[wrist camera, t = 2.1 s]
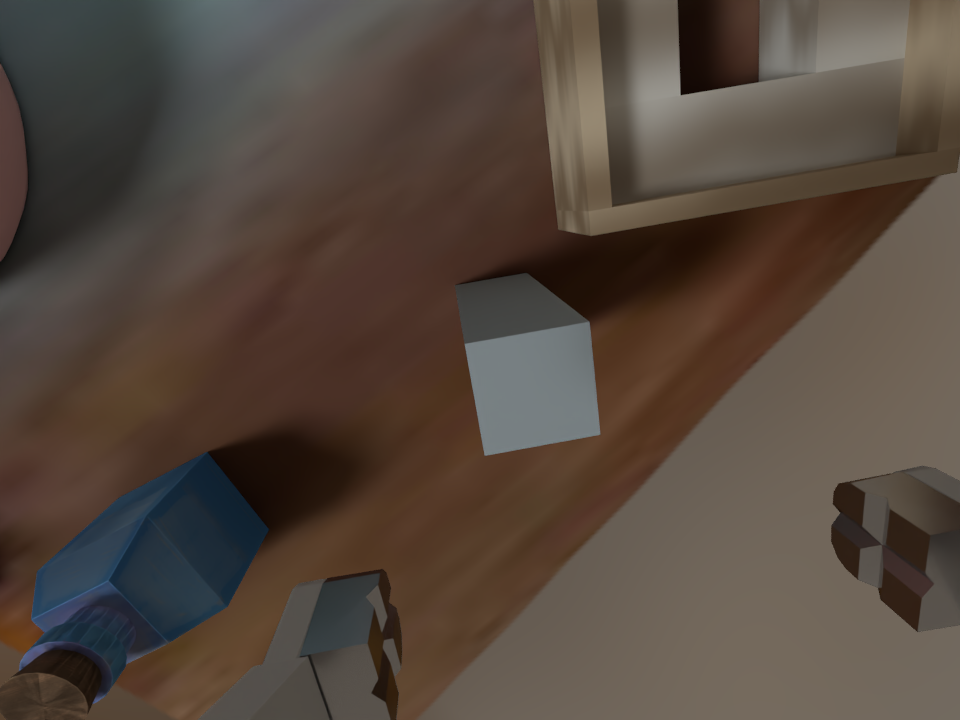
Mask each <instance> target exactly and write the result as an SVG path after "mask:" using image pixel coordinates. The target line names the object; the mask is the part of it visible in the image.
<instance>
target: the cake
mask: <svg viewBox="0 0 960 720" xmlns="http://www.w3.org/2000/svg"><path fill="white" fill-rule="evenodd" d="M27 191H28V165H27V155H26V145H25V136H24V128H23V123H22V118H21V114H20V109H19V105H18V102H17V100H16V97H15V94H14V92H13V89H12V86H11V84H10V82H9V80H8V77H7V75H6V73H5V71H4V69H3V67H2V65H1V63H0V262H1V260H2V259H3V258H4V257H5V255H6V253H7V251H8V249H9V247H10V245H11V243H12V241H13V238H14V235H15V233H16V230H17V227H18V224H19V221H20V219H21V216H22V213H23V210H24V206H25V201H26V196H27Z"/></svg>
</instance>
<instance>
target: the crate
mask: <svg viewBox="0 0 960 720" xmlns="http://www.w3.org/2000/svg"><path fill="white" fill-rule="evenodd" d="M533 1H534V10H535V20H536V29H537V38H538V47H539V56H540V65H541V75H542V84H543V93H544V102H545V111H546V120H547V130H548V139H549V148H550V157H551V166H552V175H553V185H554V194H555V203H556V212H557V221H558V230H563V231H568V232H574V233H579V234H584V235H589V236H593V235H599V234H605V233H611V232H616V231H622V230H628V229H634V228H639V227H645V226H651V225H657V224H662V223H668V222H674V221H680V220H685V219H691V218H697V217H703V216H708V215H714V214H720V213H726V212H731V211H737V210H743V209H749V208H754V207H760V206H766V205H772V204H777V203H783V202H789V201H795V200H800V199H806V198H812V197H818V196H823V195H829V194H835V193H841V192H846V191H852V190H858V189H864V188H869V187H875V186H881V185H887V184H892V183H898V182H904V181H910V180H915V179H921V178H927V177H933V176H938V175H944V174H950V173H956V172H957V168H958V160H959V153H960V0H760V23H759V82H758V83H752V84H746V85H740V86H734V87H728V88H722V89H716V90H710V91H704V92H698V93H692V94H686V95H681V94H680V62H679V30H678V0H533Z"/></svg>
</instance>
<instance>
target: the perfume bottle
mask: <svg viewBox="0 0 960 720" xmlns="http://www.w3.org/2000/svg"><path fill="white" fill-rule="evenodd" d="M268 530H269V529H268V528H267V526H266V525H265V524H264V523H263V521H262V520H261V519H260V518H259V516H258V515H257V514H256V513H255V511H254V510H253V509H252V508H251V506H250V505H249V504H248V503H247V501H246V500H245V499H244V498H243V496H242V495H241V494H240V492H239V491H238V490H237V489H236V487H235V486H234V485H233V484H232V482H231V481H230V480H229V479H228V477H227V476H226V475H225V474H224V472H223V471H222V470H221V469H220V467H219V466H218V465H217V464H216V462H215V461H214V460H213V459H212V457H211V456H210V455H209V453H208V452H206V453H204V454H202V455H200V456H198V457H196V458H194V459H192V460H190V461H189V462H187V463H185V464H183V465H181V466H179V467H177V468H175V469H173V470H171V471H169V472H167V473H166V474H164V475H162V476H160V477H158V478H156V479H154V480H152V481H150V482H148V483H146V484H144V485H143V486H141V487H139V488H137V489H135V490H133V491H131V492H129V493H127V494H125V495H123V496H121V497H120V498H118V499H117V500H116V501H115V502H114V503H113V504H112V505H110V506H109V507H108V508H107V509H106V510H105V511H104V512H103V513H102V514H100V515H99V516H98V517H97V518H96V519H95V520H94V521H93V522H92V523H90V524H89V525H88V526H87V527H86V528H85V529H84V530H83V531H82V532H80V533H79V534H78V535H77V536H76V537H75V538H74V539H73V540H72V541H70V542H69V543H68V544H67V545H66V546H65V547H64V548H63V549H62V550H60V551H59V552H58V553H57V554H56V555H55V556H54V557H53V558H52V559H50V560H49V561H48V562H47V563H46V564H45V565H44V566H43V567H42V568H40V569H39V570H38V571H37V577H36V585H35V593H34V602H33V610H32V618H31V620H32V621H33V622H34V623H35V624H36V625H37V626H39V627H40V628H41V629H42V630H43V631H44V632H45V633H44V634H43V635H42V636H41V637H40V639H39V640H38V641H37V642H36V643H35V644H34V645H33V646H32V647H31V648H30V649H29V650H28V651H27V652H26V654H25V655H24V657H23V659H22V660H21V662H20V669H19V672H18V673H16V674H15V675H14V676H12V677H11V678H10V679H8V680H7V681H6V682H5V683H3V684H2V686H1V687H0V713H1V714H2V715H3V716H4V718H5V719H6V720H85V718H86V717H87V714H88V712H89V710H90V708H91V705H92V704H93V703H96V702H98V701H99V700H100V699H102V698H103V697H105V696H106V695H107V693H108V692H109V690H110V689H111V687H112V686H113V684H114V683H115V682H116V680H117V679H118V677H119V676H120V674H121V673H122V671H123V670H124V668H125V667H126V664H127V663H129V662H131V661H133V660H135V659H137V658H139V657H141V656H143V655H145V654H148V653H150V652H152V651H154V650H156V649H158V648H160V647H162V646H164V645H166V644H168V643H170V642H171V641H173V640H175V639H176V638H178V637H179V636H181V635H183V634H184V633H186V632H187V631H189V630H191V629H192V628H194V627H196V626H197V625H199V624H200V623H202V622H204V621H205V620H207V619H209V618H210V617H212V616H213V615H215V614H217V613H218V612H220V611H221V610H223V609H225V608H226V607H228V605H229V603H230V601H231V599H232V597H233V596H234V594H235V592H236V590H237V588H238V586H239V584H240V583H241V581H242V579H243V577H244V575H245V573H246V571H247V569H248V568H249V566H250V564H251V562H252V560H253V558H254V556H255V555H256V553H257V551H258V549H259V547H260V545H261V543H262V542H263V540H264V538H265V536H266V534H267V532H268Z"/></svg>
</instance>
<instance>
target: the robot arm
mask: <svg viewBox="0 0 960 720" xmlns="http://www.w3.org/2000/svg"><path fill="white" fill-rule="evenodd" d="M833 505H834V506H835V507H836V508H837V509H838V511H839V512H840V514H839V516H838V517H837V518H836V520H835V521H834V523H833V524H832V528H831V533H832V534H831V542H832V544H833V547H834V549H835V552H836V555H837V557H838V559H839V560H840V561H841V563H842V564H843V565H844V567H845V568H846V569H847V570H848V571H849V572H850V573H851V574H852V575H853V576H854V577H856V578H857V579H858V580H860V581H862V582H865V583H867V584H870V585H872V586H875V587H877V588H878V590H879V595H880V599H881V600H882V601H883V602H884V603H885V604H886V605H887V606H888V607H890V608H891V609H892V610H893V611H894V612H895V613H896V614H897V615H899V616H900V617H901V618H902V619H903V620H905V621H906V622H907V623H908V624H909V625H910V626H911V627H912V628H913V629H915V630H916V631H917V632H921V631H926V630H933V629H939V628H945V627H951V626H958V625H960V481H959V480H957V479H955V478H953V477H951V476H949V475H947V474H945V473H944V472H942V471H940V470H938V469H936V468H931V467H926V466H920V467H916V468H910V469H906V470H901V471H896V472H894V473H892V474H886V475H881V476H875V477H870V478H865V479H860V480H855V481H850V482H845V483H839V484H838V486H837V487H836V489H835V491H834V495H833ZM390 591H391V586H390V583H389V580H388V576H387V573H386V572H385V571H384V570H383V569H380V570H374V571H368V572H362V573H356V574H350V575H343V576H337V577H331V578H327V579H321V580H315V581H310V582H304V583H299V584H298V585H297V586H296V587H294V589H293V590H292V592H291V595H290V597H289V600H288V602H287V605H286V607H285V610H284V612H283V615H282V617H281V620H280V622H279V625H278V627H277V630H276V632H275V635H274V637H273V640H272V642H271V645H270V647H269V650H268V652H267V655H266V657H265V660H264V662H263V665H259V666H254V667H252V668H251V669H250V670H249V671H248V672H247V673H246V674H245V675H244V676H243V677H242V678H241V679H240V680H239V681H238V682H237V683H236V684H235V685H233V686H232V687H231V688H230V689H229V690H228V691H227V692H226V693H225V694H224V695H223V696H222V697H221V698H220V699H219V700H218V701H217V702H216V703H215V704H214V705H213V706H212V707H211V708H209V709H208V710H207V711H206V712H205V713H204V714H203V715H202V716H201V717H200V718H199V719H198V720H396V718H397V707H398V697H399V692H398V688H397V685H396V681H395V676H396V674H397V673H398V672H399V670H400V669H401V663H402V633H401V627H400V621H399V616H398V612H397V608H396V607H394V606H393V605H392V604H390V603H389V599H390Z"/></svg>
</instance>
